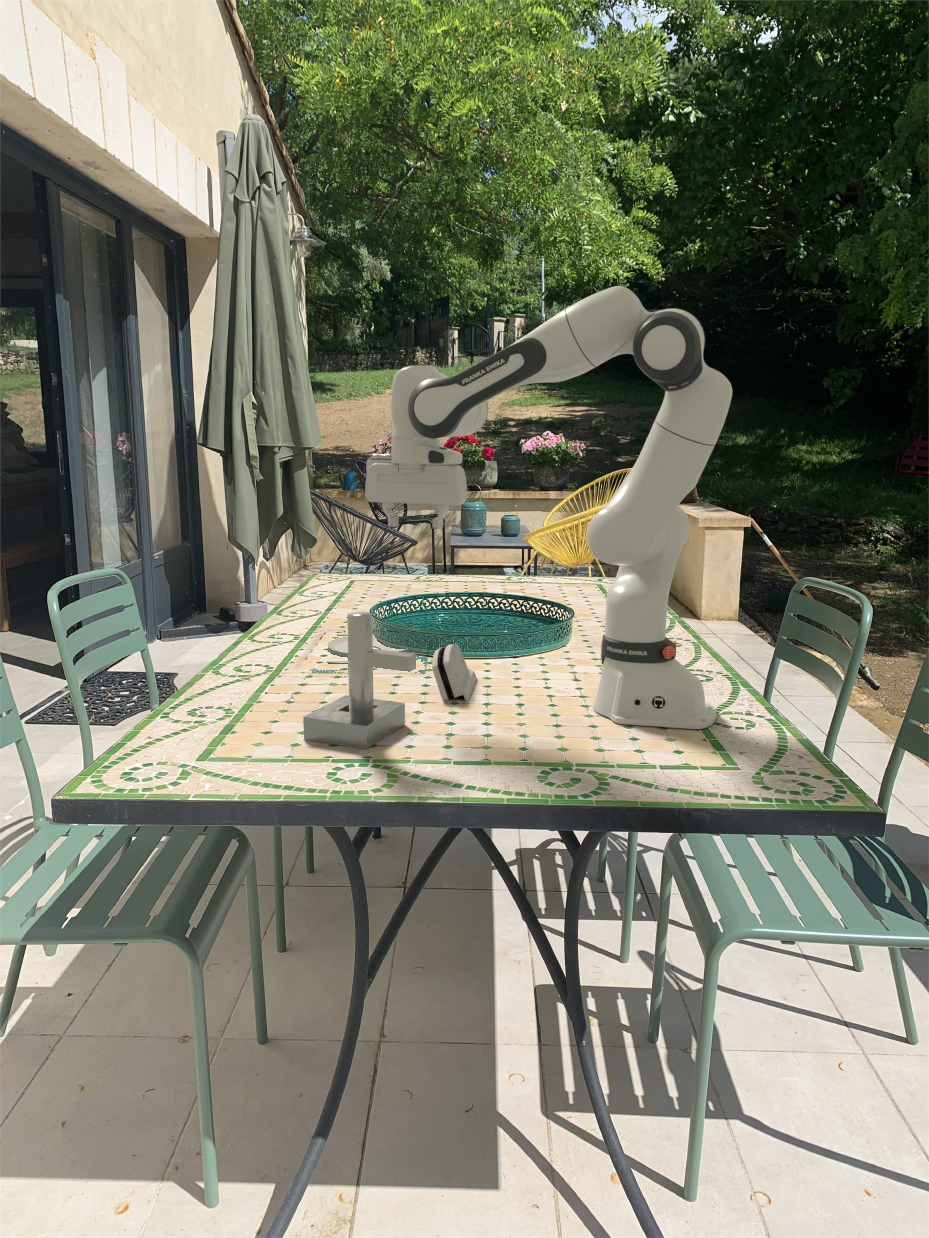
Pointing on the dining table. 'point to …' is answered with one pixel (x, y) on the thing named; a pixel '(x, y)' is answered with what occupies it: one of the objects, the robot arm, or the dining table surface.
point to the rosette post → (360, 694)
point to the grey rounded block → (452, 673)
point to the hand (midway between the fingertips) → (415, 527)
